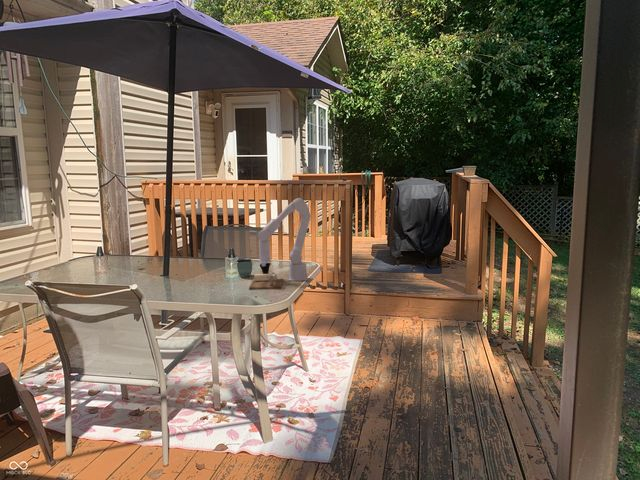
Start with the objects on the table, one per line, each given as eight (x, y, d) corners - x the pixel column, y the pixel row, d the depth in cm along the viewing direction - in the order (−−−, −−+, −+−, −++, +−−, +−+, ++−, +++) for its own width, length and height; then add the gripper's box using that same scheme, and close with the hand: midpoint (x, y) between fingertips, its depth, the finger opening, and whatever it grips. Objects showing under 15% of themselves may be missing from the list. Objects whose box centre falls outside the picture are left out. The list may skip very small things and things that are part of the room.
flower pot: (237, 278, 278) (236, 262, 277) (236, 275, 286) (236, 259, 285) (253, 277, 280) (252, 261, 278) (252, 274, 288) (251, 258, 287)
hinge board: (283, 280, 269) (282, 269, 268) (280, 288, 251) (280, 276, 250) (253, 281, 269) (253, 270, 268) (249, 289, 251) (248, 277, 250)
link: (277, 278, 268) (277, 271, 267) (276, 280, 264) (276, 273, 263) (255, 279, 268) (255, 272, 267) (254, 281, 264) (254, 274, 263)
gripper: (259, 250, 275) (260, 274, 277) (255, 254, 260) (256, 280, 262) (271, 249, 275) (272, 273, 277) (268, 254, 260) (269, 279, 262)
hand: (265, 276), depth 269 cm, fingers closed
